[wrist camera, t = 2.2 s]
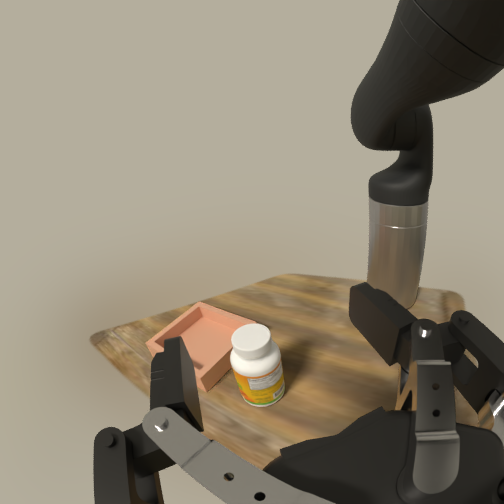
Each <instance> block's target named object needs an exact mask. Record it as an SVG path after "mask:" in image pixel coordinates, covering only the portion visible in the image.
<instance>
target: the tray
mask: <svg viewBox="0 0 504 504" xmlns="http://www.w3.org/2000/svg"><path fill="white" fill-rule="evenodd" d="M253 323H256V324H257V322H255V321H252V320H249V319H246V318H243V317H241V316H238V315H235V314H232V313H229V312H226V311H224V310H221V309H218V308H215V307H213V306H210V305H207V304H205V303H202V302H198V303H196V304H195V305H194V306H193V307H191V308H190V309H189V310H187V311H186V312H185V313H184V314H182V315H181V316H180V317H178V318H177V319H176V320H174V321H173V322H172V323H171V324H169V325H168V326H167V327H165V328H164V329H163V330H162V331H160V332H159V333H158V334H156V335H155V336H154V337H152V338H151V339H150V340H149V341H147V342H146V345H147V347H148V348H149V350H150V352H151V354H152V356H153V357H154V356H155V354H156V353H159V352H163V351H164V340H165V339H169V338H173V337H178V336H181V337H182V339H183V341H184V344H185V346H186V348H187V350H188V353H189V355H190V357H191V359H192V362H193V365H194V369H195V375H196V383H197V387H199V388H201V389H202V390H204V391H206V392H208V391H209V390H210V389H211V388H212V387H213V386H214V385H215V384H216V383H217V382H218V381H219V380H220V379H221V378H222V377H223V375H224V374H225V373H226V372H227V371H228V370H229V369H230V368H231V367H232V365H231V361H230V355H231V352H232V349H233V345H232V341H231V338H232V335H233V333H234V332H235V331H236V330H237V329H238V328H240V327H241V326H244V325H247V324H253Z"/></svg>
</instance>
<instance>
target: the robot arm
mask: <svg viewBox="0 0 504 504" xmlns="http://www.w3.org/2000/svg"><path fill="white" fill-rule="evenodd" d="M503 68H504V0H400V1H399V3H398V6H397V9H396V13H395V15H394V19H393V21H392V24H391V27H390V30H389V33H388V35H387V37H386V39H385V41H384V44H383V46H382V48H381V50H380V52H379V54H378V56H377V58H376V61H375V62H374V64H373V65H372V66H371V68H370V70H369V71H368V73H367V74H366V76H365V77H364V79H363V80H362V82H361V84H360V85H359V87H358V88H357V91H356V93H355V95H354V98H353V102H352V107H351V124H352V129H353V132H354V134H355V136H356V138H357V139H358V141H359V142H360V143H361V144H362V145H364V146H365V147H367V148H369V149H373V150H382V151H384V150H385V151H392V150H393V151H395V150H397V151H400V154H399V158H398V159H397V161H396V162H395V163H394V164H392V165H391V166H390V167H388V168H387V169H385V170H382V171H380V172H378V173H376V174H374V175H373V176H372V177H371V178H370V180H369V256H368V275H367V282H363V283H361V284H358V285H355V286H352V287H351V288H350V300H349V317H350V320H351V322H352V323H353V325H354V326H355V327H356V328H357V329H358V330H359V331H360V333H361V334H362V335H363V336H364V337H365V338H366V339H367V341H368V342H369V343H370V344H371V345H372V346H373V348H374V349H375V350H376V351H377V352H378V353H379V355H380V356H381V357H382V358H383V359H384V360H385V362H386V363H387V364H388V365H389V366H391V365H393V364H395V363H397V362H398V363H399V364H400V366H399V376H398V394H397V403H396V407H395V410H391V411H386V412H385V410H384V409H383V407H382V406H381V407H379V408H377V409H375V410H374V411H372V412H370V413H368V414H366V415H364V416H362V417H360V418H358V419H357V420H356V421H355V422H353V423H352V424H351V425H350V426H348V427H347V428H346V429H344V430H343V431H342V432H340V433H339V434H337V435H334V436H329V437H323V438H317V439H310V440H306V441H303V442H300V443H297V444H294V445H291V446H288V447H285V448H282V449H280V453H281V456H279V457H277V458H276V459H274V460H273V461H271V462H270V463H269V464H268V465H267V466H266V467H265V468H264V469H263V470H260V469H259V468H257V467H255V466H254V465H252V464H250V463H249V462H247V461H246V460H244V459H242V458H241V457H239V456H238V455H236V454H235V453H233V452H232V451H230V450H229V449H227V448H226V447H224V446H223V445H221V444H220V443H218V442H217V441H215V440H210V439H208V438H207V437H205V436H204V435H203V434H201V433H200V432H203V431H204V429H203V423H202V417H201V410H200V404H199V397H198V390H197V383H196V375H195V369H194V365H193V362H192V359H191V357H190V355H189V353H188V350H187V348H186V346H185V344H184V341H183V339H182V337H181V336H178V337H173V338H169V339H165V340H164V351H163V352H159V353H156V354H155V356H154V358H153V360H152V362H151V386H150V411H149V412H148V413H147V414H146V415H145V417H144V419H143V422H142V423H141V424H140V425H138V426H136V427H134V428H131V429H129V430H126V431H124V432H122V431H120V430H119V429H117V428H115V427H108V428H105V429H103V430H101V431H100V432H99V433H98V434H97V435H96V437H95V440H94V497H95V504H164V500H163V495H162V490H161V485H160V478H159V472H158V471H160V470H163V469H165V468H168V467H170V466H172V465H175V464H178V465H179V466H180V467H181V468H182V469H183V470H184V471H186V472H187V473H188V474H189V475H190V476H191V477H192V478H194V479H195V480H196V481H197V482H199V483H200V484H201V485H202V486H204V487H205V488H206V489H208V490H209V491H210V492H212V493H213V494H214V495H216V496H217V497H218V498H220V499H221V500H222V501H224V502H225V503H227V504H504V343H503V342H502V341H501V340H500V339H499V338H498V337H497V336H496V335H495V334H494V333H492V332H491V331H490V330H489V329H488V328H487V327H486V326H485V325H484V324H483V323H481V322H480V321H479V320H478V319H477V318H475V316H473V315H472V314H471V313H469V312H467V311H463V310H459V311H456V312H454V313H453V314H452V316H451V319H450V321H449V322H445V323H441V324H436V323H435V322H434V321H432V320H429V319H419V320H418V319H417V318H416V317H415V316H414V315H412V314H411V313H410V312H409V311H408V310H407V309H408V308H410V307H411V306H412V305H413V304H414V303H415V301H416V296H417V291H418V286H419V280H420V275H421V269H422V262H423V255H424V248H425V238H426V229H427V215H428V214H427V213H428V196H429V195H428V194H429V189H430V185H431V182H432V174H433V123H432V116H431V111H430V108H429V104H431V103H435V102H439V101H442V100H445V99H448V98H452V97H455V96H458V95H461V94H464V93H467V92H470V91H472V90H474V89H476V88H478V87H480V86H481V85H483V84H484V83H486V82H487V81H489V80H490V79H491V78H492V77H493V76H495V75H496V74H497V73H499V72H500V71H501V70H502V69H503ZM465 349H467V350H468V351H469V352H470V353H471V354H472V355H473V356H474V357H475V358H476V359H477V361H478V368H477V367H476V366H475V365H474V364H473V363H472V362H471V361H470V360H469V359H468V358H467V356H466V355H465V354H464V351H465ZM453 384H454V385H455V387H456V388H457V389H458V390H459V391H460V393H461V394H462V395H463V396H464V398H465V399H466V400H467V401H468V403H469V404H470V405H471V406H472V408H473V409H474V410H475V411H476V413H477V414H478V421H479V422H478V424H477V427H475V426H470V425H465V424H460V423H456V414H455V396H454V385H453Z"/></svg>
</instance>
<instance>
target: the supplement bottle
mask: <svg viewBox="0 0 504 504" xmlns="http://www.w3.org/2000/svg"><path fill="white" fill-rule="evenodd" d="M231 341H232V345H233V349H232V352H231V355H230V361H231V365H232V368H233V371H234V374H235V377H236V380H237V383H238V386H239V389H240V391H241V394H242V397H243V398H244V400H245V401H246V402H248V403H249V404H251V405H253V406H258V407H264V406H269V405H272V404H274V403H276V402H277V401H278V400H279V399H280V398H281V397H282V396H283V394H284V390H285V383H284V376H283V368H282V361H281V354H280V350H279V347H278V345H277V344H276V343H275V342H274V341H273V340H272V338H271V333H270V331H269V329H268V328H267V327H266V326H264V325H261V324H256V323H253V324H247V325H244V326H241V327H240V328H238V329H237V330H236V331H235V332H234V333H233V335H232V338H231Z"/></svg>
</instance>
